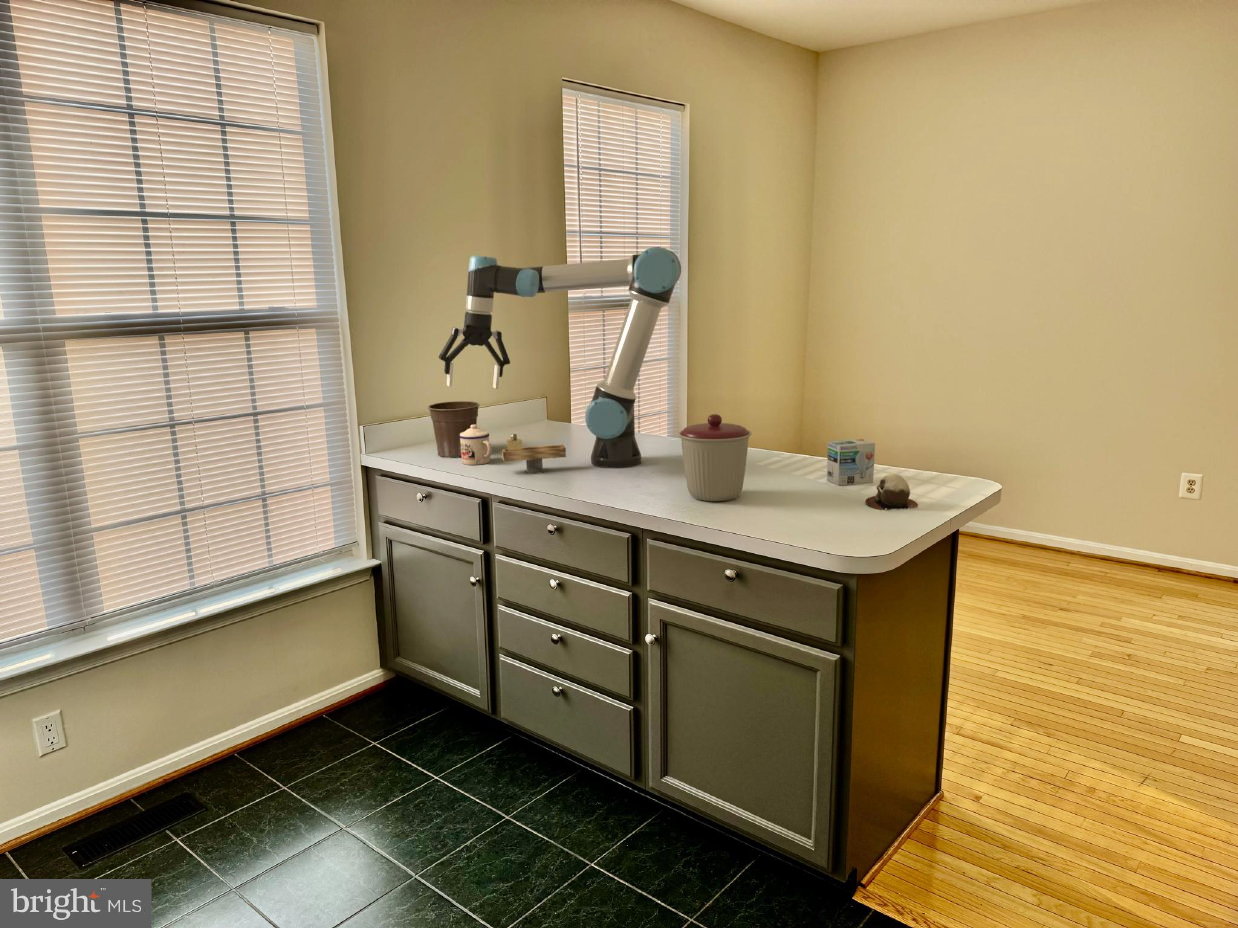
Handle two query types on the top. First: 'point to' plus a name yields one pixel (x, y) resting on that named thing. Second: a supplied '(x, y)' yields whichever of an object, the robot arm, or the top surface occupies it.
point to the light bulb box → (850, 462)
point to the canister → (714, 459)
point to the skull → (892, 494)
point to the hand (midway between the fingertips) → (472, 387)
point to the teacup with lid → (475, 446)
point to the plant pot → (452, 424)
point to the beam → (534, 456)
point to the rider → (514, 443)
